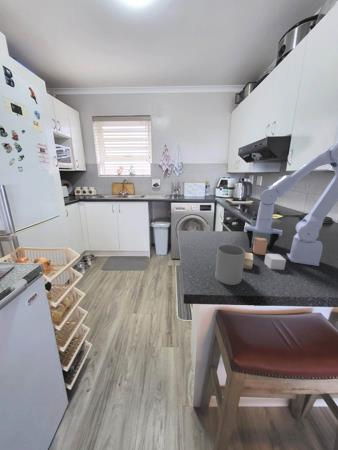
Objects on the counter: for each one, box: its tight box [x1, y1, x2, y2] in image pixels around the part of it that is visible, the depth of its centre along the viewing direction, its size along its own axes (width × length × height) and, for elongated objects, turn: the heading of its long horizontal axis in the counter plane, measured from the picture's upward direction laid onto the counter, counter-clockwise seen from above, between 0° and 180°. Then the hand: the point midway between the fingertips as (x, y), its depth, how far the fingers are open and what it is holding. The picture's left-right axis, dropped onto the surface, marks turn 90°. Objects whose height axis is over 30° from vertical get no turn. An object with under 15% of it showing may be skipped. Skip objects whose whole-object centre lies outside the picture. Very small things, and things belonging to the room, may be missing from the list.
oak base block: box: [243, 251, 254, 270], centre depth 72 cm, size 6×6×4 cm
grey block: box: [263, 253, 287, 271], centre depth 71 cm, size 5×5×4 cm
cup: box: [214, 244, 246, 286], centre depth 61 cm, size 8×8×10 cm
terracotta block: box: [252, 237, 268, 256], centre depth 83 cm, size 4×4×6 cm
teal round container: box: [250, 217, 275, 246], centre depth 94 cm, size 10×10×12 cm
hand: (259, 248), depth 83 cm, fingers open, 7 cm apart
